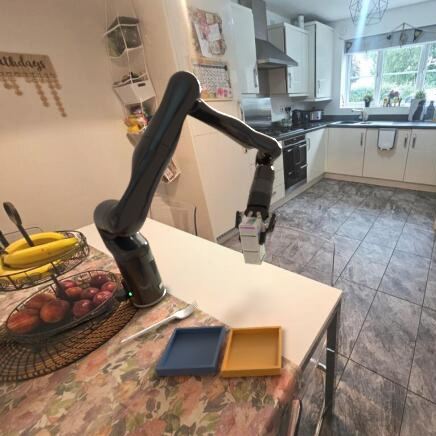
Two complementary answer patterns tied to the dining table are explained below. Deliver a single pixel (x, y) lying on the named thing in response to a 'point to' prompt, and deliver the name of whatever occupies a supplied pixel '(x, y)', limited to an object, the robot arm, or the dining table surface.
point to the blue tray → (192, 351)
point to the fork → (180, 315)
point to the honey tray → (253, 352)
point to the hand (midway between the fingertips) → (251, 243)
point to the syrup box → (252, 240)
